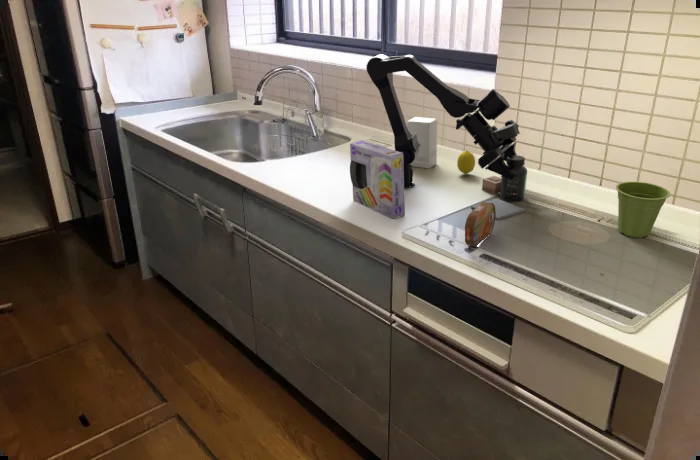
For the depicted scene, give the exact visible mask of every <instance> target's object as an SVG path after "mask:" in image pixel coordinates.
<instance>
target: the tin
mask: <svg viewBox="0 0 700 460" xmlns="http://www.w3.org/2000/svg"><path fill="white" fill-rule="evenodd" d="M485 202H486V201H483V202H480V203H481V204H480V203H479V204H480V205H478V206H477V207H476V208H475V209H472V210H471V212H470V213H469V214H468V215H467V218H466V220H465V223H464V224H465V225H464V242H465V244H466V245H467V246H469V245H470V246H471V247H474V246H475V248H478V247H477V245H478V244H479V243H480V242H481V241H482V240H484V239H485V238H486V237H488V235H490V234H491V235H492V233H493V231H494V228H495V224H496V219H495V217H496V211H495V205H494V204H493V203H485ZM491 235H490V236H491ZM488 238H489V237H488Z"/></svg>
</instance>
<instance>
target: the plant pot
mask: <svg viewBox="0 0 700 460" xmlns="http://www.w3.org/2000/svg"><path fill="white" fill-rule="evenodd" d="M615 189H616V191H617V199H618V210H617V211H618V214H617V215H618V217H617V219H618V220H617V222H618V223H617V230H618V232H619V233H623V235H626V236H627V237H631V238H636V239H637V238H638V239H641V238H644V237H649V236H650V234H651V232H652V230H653V228H654V227H655V226H654V225H655V223H656V220H657V219H658V216H659V214H660V213H661V212H660V211H661V210H662V207H663V206H664V205H665V202H666V200H667V199H668V198H670V195H671V192H670V191H669V190H668V189H667V188H666V187H663V186H661V185H657V184H655V183H651V182H643V181H624V182H619V183H617V184H616V186H615Z"/></svg>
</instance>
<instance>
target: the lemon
mask: <svg viewBox="0 0 700 460" xmlns="http://www.w3.org/2000/svg"><path fill="white" fill-rule="evenodd" d="M456 163H457V169H458V171H460V172H461V173H463V175H466V176H467V175H468V174H469V173H472V171H473V170H474V169H475V166H476V158H475V156H474V154H473V153H472V152H471V151H469V150H467V149H466V150H465V151H462V152H461V153H460V154H459V155H458V158H457V162H456Z"/></svg>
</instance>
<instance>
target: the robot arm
mask: <svg viewBox="0 0 700 460" xmlns="http://www.w3.org/2000/svg"><path fill="white" fill-rule="evenodd" d="M365 69H366V72H367V74H368V76H369V78H370V80H371V82H372V83H373V84H374V85H375V87H376V88H377V90H378V91H379V94H380V98H381V100H382V104H383V107H384V109H385V112H386V115H387V118H388V121H389V124H390V127H391V131H392V133H393V138H394V139H393V141H394V143H393V144H394V150H395V151H398V152H402V153H403V158H404V189H407V188H411V187H415V186H416V184H415V183H413V180H414V179H413V178H414V175H413V174H414V172H413V171H414V170H413V169H414V168H413V166H412V165H410V164H411V163H412V162H413V161H414V160H415V158H416V156H417V155H418V153H419V147H420V144H419V143H418V140H417V135H416V133H415V134H413V135H411V133H410V132H409V131H408V129H407V122H406V120H405V116H404V113H403V111H402V108H401V105H400V101H399V98H398V96H397V92H396V89H395V86H394V77H393V76H394V75H393V74H394V73H399V72H407V74H409V75H410V76H411V77H412V78H413V79H414V80H416V81H417V82H418V83H419V84H421V85H422V86H423V87H424V88H425V89H426V90H427V91H429V92H430V94H432V95H433V96H435V97H436V99H438V101H439V104H440V105H441V106H442V108H443V109H445V111H446V112H447V114H448V115H449V116H450V117H452V118H455V119H456V118H457V119H456V124H455V130H460V129H461V128H462V127H463V128H464V129H465V130H466V131H467V132H468V134H469V135H470V136H471V137H472V138H473V139H474V141H473V144H474V145H475V146H476V145H478V146H479V147H480V148H481V149H482V151H484V152H482V155H481V156H480V157H479V158H478V160H477V164H478V166H479V167H480V168H481V169H482V170H483V169H485V170H488V171H491V172H493V173H495V174H498V175H499V176H500V175H501V177H502V176H504V177H506V178H508V179H510V180H511V179H513V178H514V176H513V175H512V173H511V171H510V170H509V168H508V167H507V164H506V161H507V157H508V156H511V155H518V154H517V153H516V145H517V141H516V140H517V138H516V137H518V135H520V134H521V133H520V131H519V127H520V125H519V124H518V123H517V122H515V121H514V120H513V119H510V120H507V121H506V122H505V123H504V126H502V127H500V128H497V126H495V125H493V126H491V125H490V124H489V123H488V121H491V120H492V121H495V120H496V119H497V118H498V117H500V116H501V115H502V114H503V113H505V112H506V111H507V110H508V109H509V108H511V105H510V103H509V102H508V100H507V99H506V98H505V97H504V96H503V95H502V94H501V93H499V92H498V91H496V89H495V88H492V89H491V90H490V91H489V92H488V93H487V94H486V95H485V96H484V97H483V98H482V99H475V98H470V97H468V96H467V95H466V94H464V93H463V92H461V91H459V90H457V88H456V89H455V88H453V87H451V86H449V85H447V84H445V82H444V81H442V80H441V78H439V77H438V76H436V75H435V74H434V73H433V72H432V71H430V70H429V69H428V68H427V67H426V66H425V65H424V64H423V63H421V62H420V61H419V60H418V59H417V58H416V57H415V56H414V55H412V54H406V55H395V56H387V55H385V54H376V56H373V57H372V58H370V59H369V60H368V61H367V64H366V68H365ZM472 113H473V114H472ZM464 115H465V116H464Z"/></svg>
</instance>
